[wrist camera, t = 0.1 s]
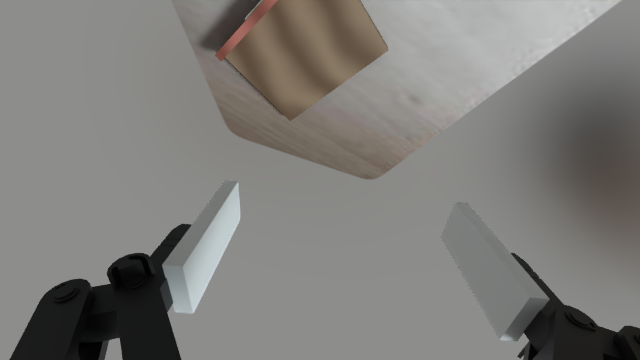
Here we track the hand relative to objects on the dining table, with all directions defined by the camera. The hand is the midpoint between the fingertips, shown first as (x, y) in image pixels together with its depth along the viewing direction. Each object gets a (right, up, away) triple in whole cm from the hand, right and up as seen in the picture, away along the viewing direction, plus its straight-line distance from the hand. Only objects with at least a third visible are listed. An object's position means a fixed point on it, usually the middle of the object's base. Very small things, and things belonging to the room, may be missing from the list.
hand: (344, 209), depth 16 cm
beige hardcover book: (-4, +20, +19) cm, 28 cm away
